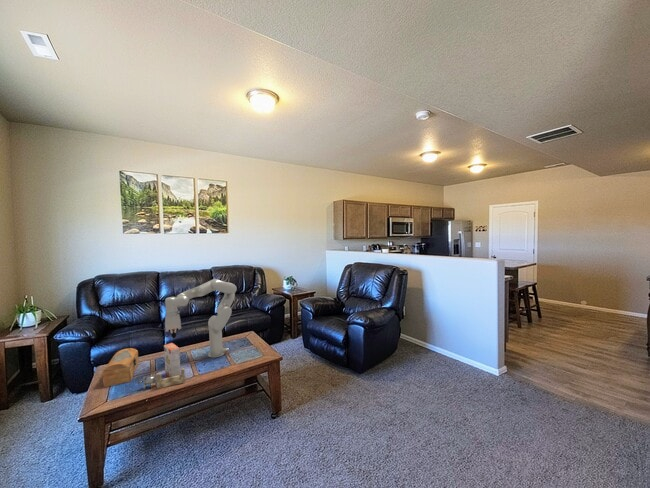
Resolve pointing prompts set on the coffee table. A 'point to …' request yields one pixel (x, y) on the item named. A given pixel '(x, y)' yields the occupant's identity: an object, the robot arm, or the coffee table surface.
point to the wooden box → (121, 367)
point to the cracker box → (172, 360)
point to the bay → (170, 380)
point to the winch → (148, 380)
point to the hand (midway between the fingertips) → (174, 337)
